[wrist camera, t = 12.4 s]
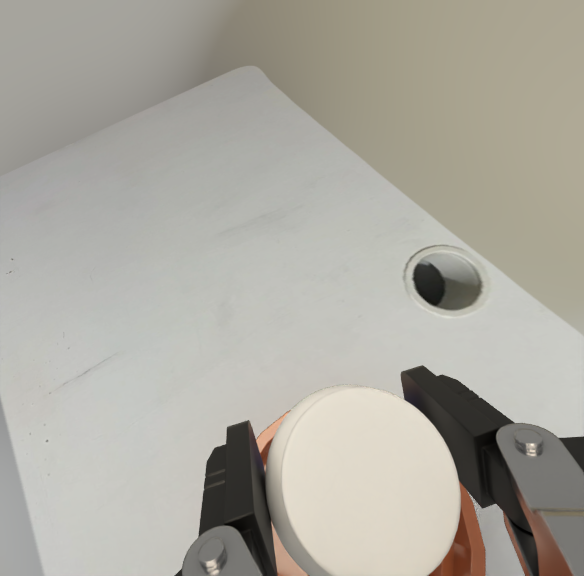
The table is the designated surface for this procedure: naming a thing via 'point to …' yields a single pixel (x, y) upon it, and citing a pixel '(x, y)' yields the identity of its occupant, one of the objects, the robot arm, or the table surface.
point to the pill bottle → (362, 485)
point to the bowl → (454, 567)
